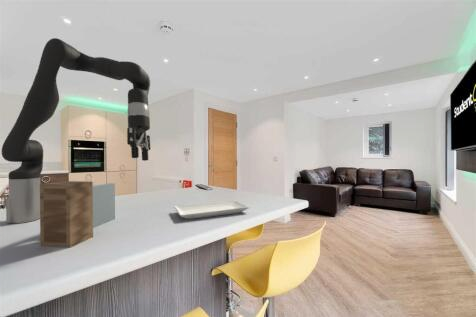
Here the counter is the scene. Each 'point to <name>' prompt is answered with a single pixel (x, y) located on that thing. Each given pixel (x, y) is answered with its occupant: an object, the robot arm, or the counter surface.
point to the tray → (210, 209)
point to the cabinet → (66, 213)
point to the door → (103, 204)
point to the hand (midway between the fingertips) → (140, 159)
